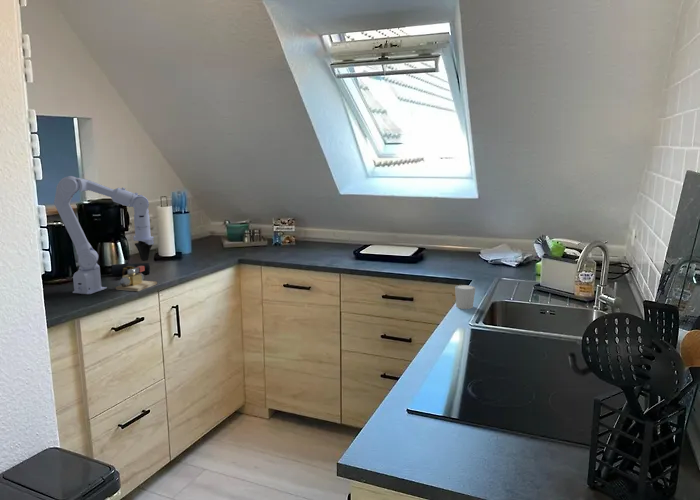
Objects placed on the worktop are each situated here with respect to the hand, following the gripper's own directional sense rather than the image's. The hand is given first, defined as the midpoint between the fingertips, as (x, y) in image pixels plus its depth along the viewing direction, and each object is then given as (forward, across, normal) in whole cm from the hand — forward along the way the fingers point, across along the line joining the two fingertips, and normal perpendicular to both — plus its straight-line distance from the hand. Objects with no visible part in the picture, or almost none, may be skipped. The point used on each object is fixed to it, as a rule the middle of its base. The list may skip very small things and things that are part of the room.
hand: (144, 260), depth 214 cm
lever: (+6, +5, +2) cm, 8 cm away
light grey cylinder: (+11, -105, -67) cm, 125 cm away
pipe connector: (+11, +22, -2) cm, 25 cm away
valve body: (+10, +3, +4) cm, 12 cm away
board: (+10, +2, +3) cm, 11 cm away
